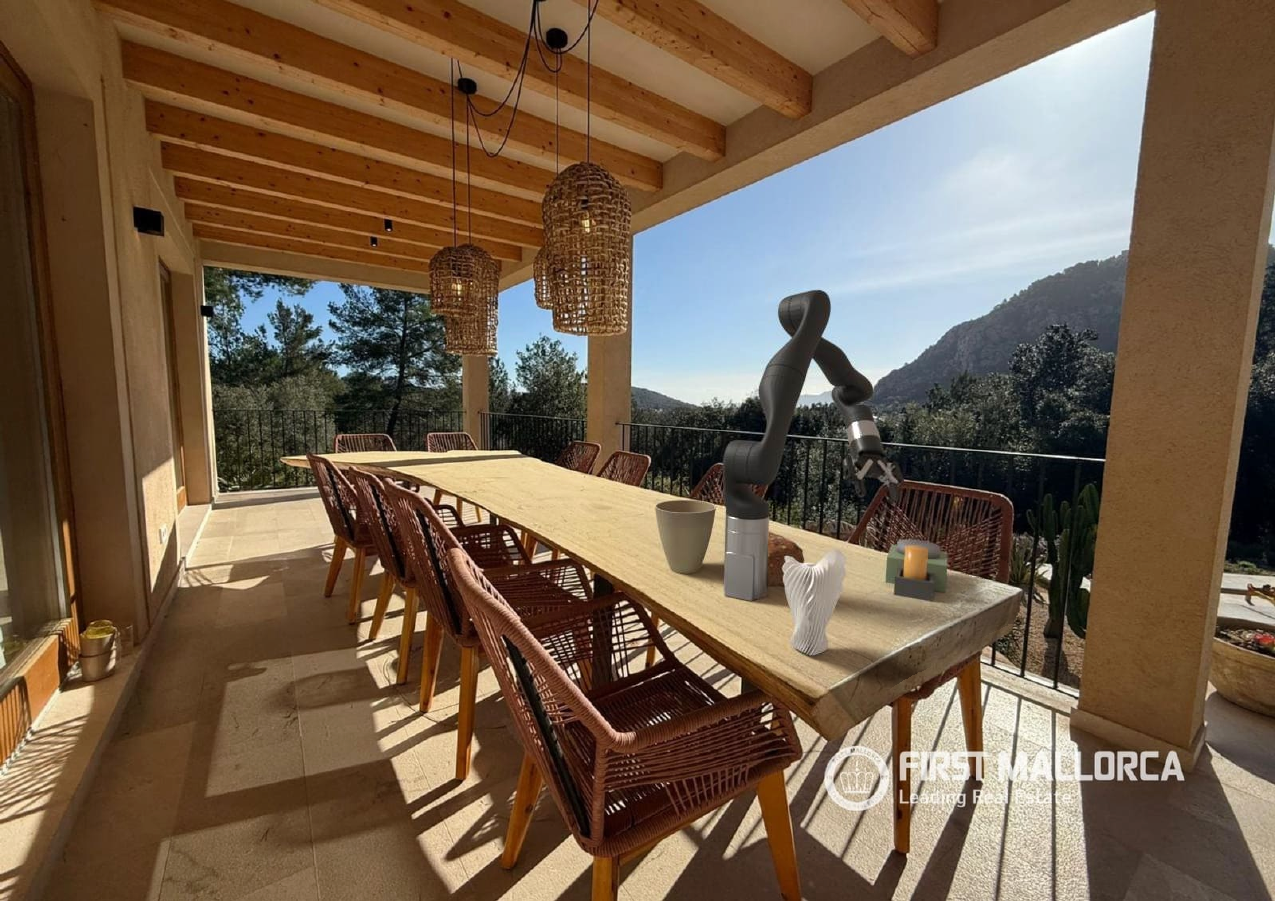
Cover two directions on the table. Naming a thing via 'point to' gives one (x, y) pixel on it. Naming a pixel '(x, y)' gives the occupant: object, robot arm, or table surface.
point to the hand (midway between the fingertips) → (879, 497)
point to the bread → (780, 557)
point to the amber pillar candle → (915, 562)
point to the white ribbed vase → (813, 598)
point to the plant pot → (685, 532)
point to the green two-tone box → (914, 586)
